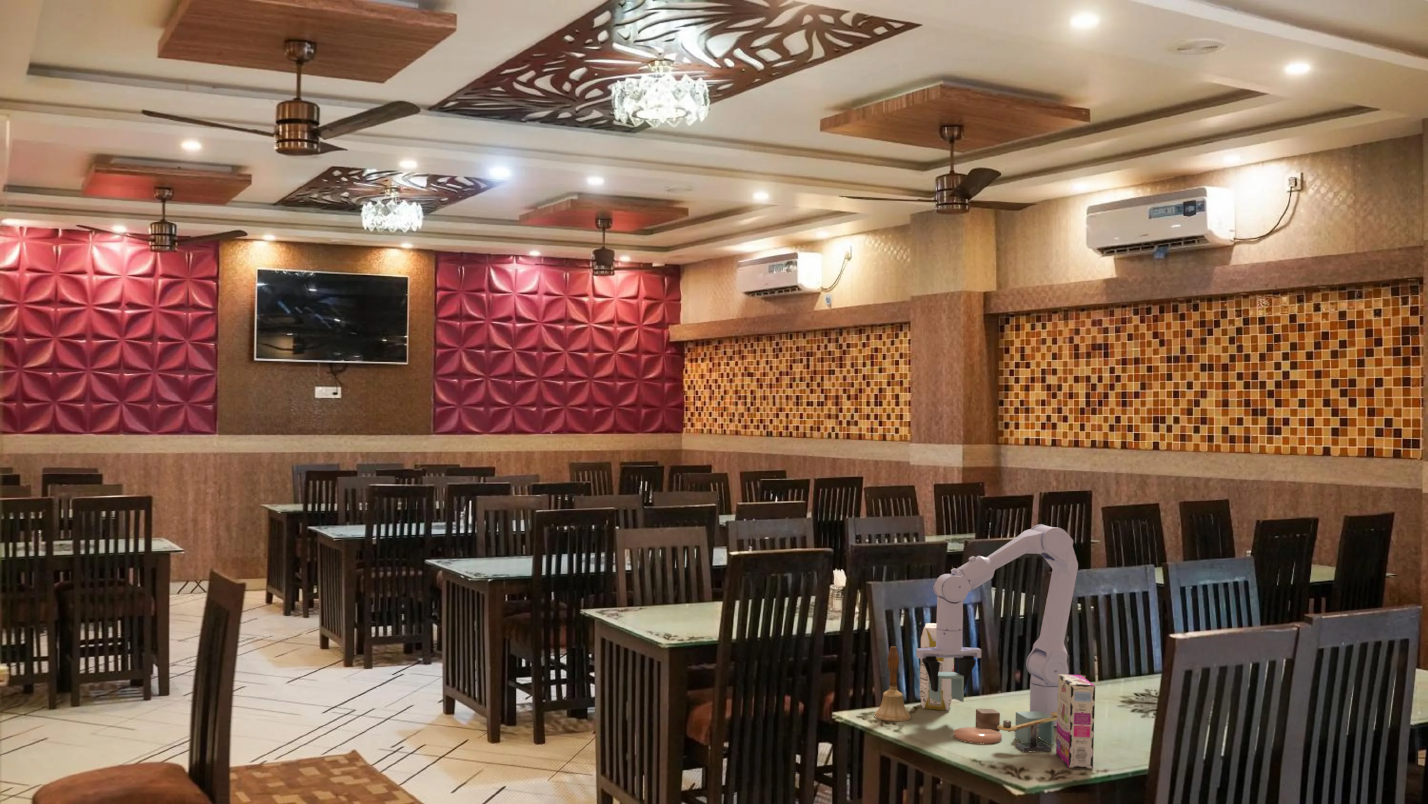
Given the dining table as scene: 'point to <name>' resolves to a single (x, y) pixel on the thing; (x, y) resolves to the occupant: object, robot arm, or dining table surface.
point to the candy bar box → (1075, 721)
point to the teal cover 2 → (1044, 729)
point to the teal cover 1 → (956, 686)
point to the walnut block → (987, 719)
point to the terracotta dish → (977, 735)
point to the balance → (1033, 733)
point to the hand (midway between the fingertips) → (948, 690)
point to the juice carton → (945, 666)
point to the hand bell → (892, 694)
